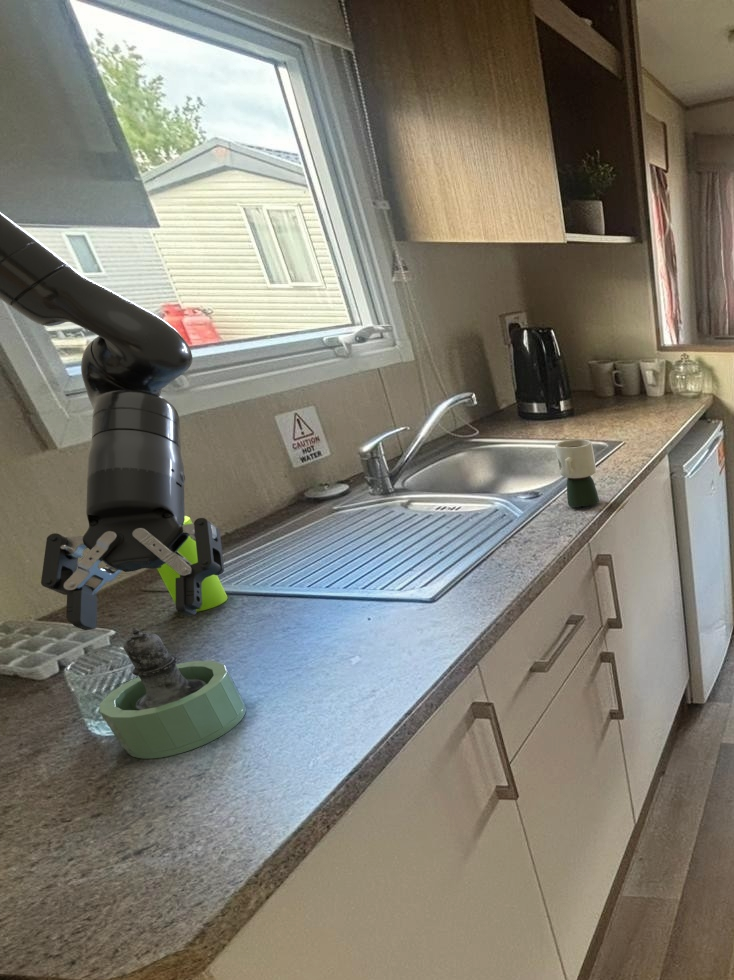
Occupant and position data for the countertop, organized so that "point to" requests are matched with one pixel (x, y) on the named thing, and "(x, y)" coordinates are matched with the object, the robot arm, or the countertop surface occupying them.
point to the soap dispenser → (210, 585)
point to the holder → (175, 713)
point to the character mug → (578, 471)
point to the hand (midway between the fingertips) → (136, 620)
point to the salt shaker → (157, 671)
